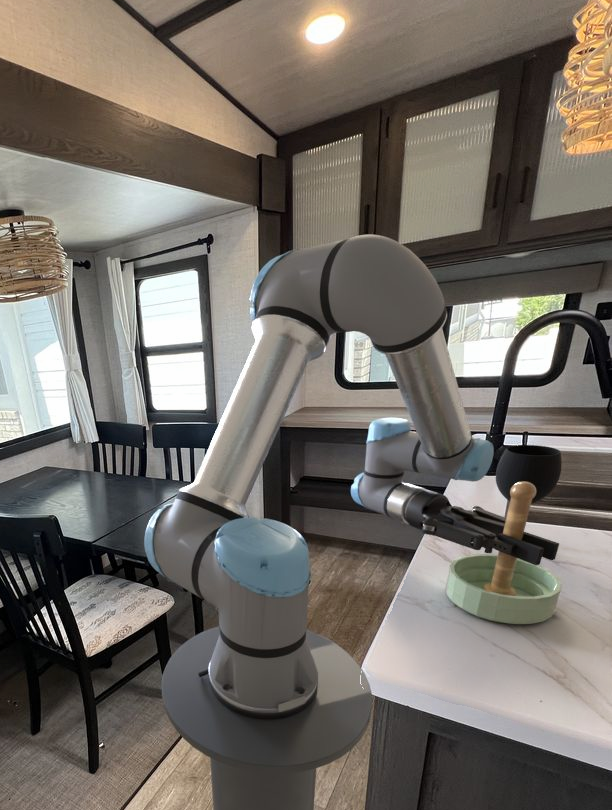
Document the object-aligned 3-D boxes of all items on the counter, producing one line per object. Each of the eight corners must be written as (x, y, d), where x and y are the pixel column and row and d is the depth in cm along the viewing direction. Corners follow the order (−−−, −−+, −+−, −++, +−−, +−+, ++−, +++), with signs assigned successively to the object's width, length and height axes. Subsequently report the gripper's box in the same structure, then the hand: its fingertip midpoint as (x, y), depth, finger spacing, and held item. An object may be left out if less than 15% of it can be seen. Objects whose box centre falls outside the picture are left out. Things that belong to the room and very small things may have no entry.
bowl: (467, 627, 76) (473, 598, 73) (432, 580, 90) (436, 554, 87) (574, 629, 73) (584, 599, 71) (521, 580, 87) (528, 553, 85)
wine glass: (475, 542, 102) (494, 452, 94) (490, 527, 108) (509, 441, 100) (534, 555, 95) (559, 459, 86) (546, 538, 101) (571, 447, 93)
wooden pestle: (490, 602, 78) (517, 487, 69) (477, 588, 81) (502, 478, 73) (519, 602, 77) (550, 485, 69) (505, 588, 81) (533, 477, 73)
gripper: (446, 517, 94) (576, 564, 74) (384, 534, 90) (505, 588, 69) (452, 482, 91) (589, 520, 71) (389, 497, 87) (516, 543, 66)
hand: (547, 554), depth 70 cm, fingers closed on wooden pestle, 3 cm apart
